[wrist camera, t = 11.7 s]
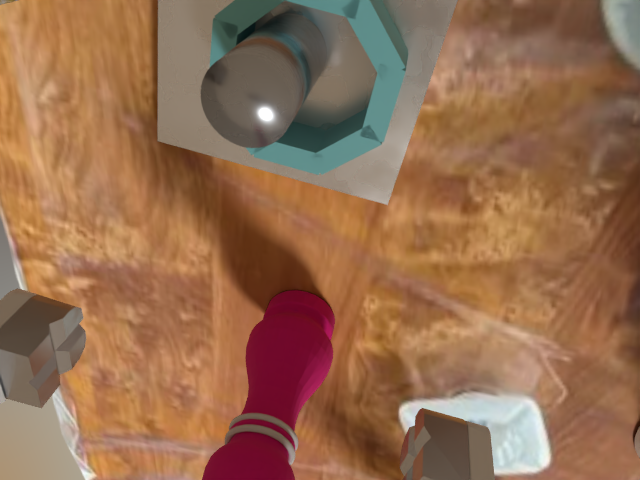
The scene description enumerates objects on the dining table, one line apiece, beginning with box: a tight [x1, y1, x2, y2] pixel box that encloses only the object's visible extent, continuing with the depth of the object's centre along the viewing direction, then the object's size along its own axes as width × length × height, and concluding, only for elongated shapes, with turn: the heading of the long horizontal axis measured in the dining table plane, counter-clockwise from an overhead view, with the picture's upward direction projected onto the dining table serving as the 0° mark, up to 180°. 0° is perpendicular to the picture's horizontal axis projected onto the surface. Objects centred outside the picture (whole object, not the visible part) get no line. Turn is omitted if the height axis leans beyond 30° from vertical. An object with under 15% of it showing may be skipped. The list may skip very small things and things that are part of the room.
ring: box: [210, 0, 408, 175], centre depth 29 cm, size 11×11×4 cm
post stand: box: [158, 0, 457, 205], centre depth 27 cm, size 17×17×10 cm
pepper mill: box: [202, 290, 335, 480], centre depth 37 cm, size 7×7×20 cm
